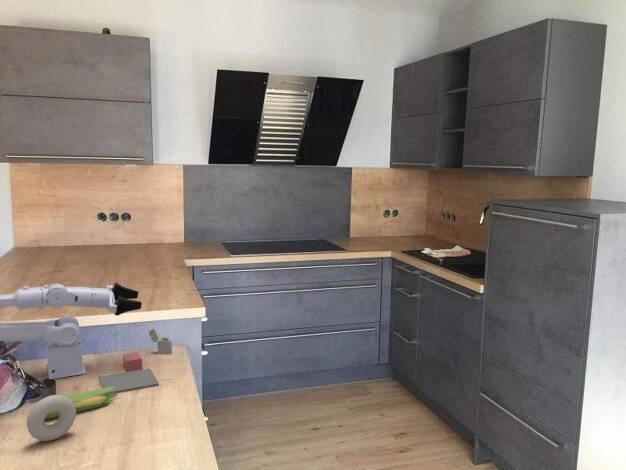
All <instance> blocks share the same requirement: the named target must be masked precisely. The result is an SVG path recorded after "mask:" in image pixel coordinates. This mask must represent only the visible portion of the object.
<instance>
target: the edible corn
mask: <svg viewBox="0 0 626 470" xmlns="http://www.w3.org/2000/svg"><path fill="white" fill-rule="evenodd" d="M113 388H115V387H108V388H102V387H101V388H97V389H93V390H87V391H81V392H74V393H66V394H61V395H62V396H66V397H67V398H69V399H71V401H72V402H73V404H74V405H75V409H76V414H77V413H81V412H85V411H89V410H94V409H97V408H102V407H106V406H108V403H111V402H114V400H113V399H114V398H116V397H117V396H118V395H119V393H115V392H108V391H110V390H112V389H113ZM42 399H43V398H41V399H40V400H42ZM40 400H39V401H40ZM39 401H37V402H36V403H38V402H39ZM59 415H60V414H59V412H58V411H51V412H49V413H48V414H47V415H46V416H45V419H44V421H46V420H53V419H58V418H59Z"/></svg>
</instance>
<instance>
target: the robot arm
mask: <svg viewBox="0 0 626 470" xmlns="http://www.w3.org/2000/svg"><path fill="white" fill-rule="evenodd" d="M138 297H139V291H138V290H135V289H131V288H129V287H125V286H123V285H121V284H119V283H118V282H114V285H113V284H109V285H105V288H104V287H103V288H101V287H89V286H88V287H86V286H65V285H63V284H62V283H61V284H60V283H56V282H55V283H51V284H44V285H43V286H36V287H30V286H28V285H24V286H23V287H22V288H19V289H17V290H16V291H15V292H14V293H9V294H0V308H7V307H15V308H17V309H19V310H21V311H22V310H29V309H39V308H45V307H48V306H49V307H53V308H55V309H61V308H64V306H65V307H75V308H96V309H97V308H98V309H99V308H100V309H106V310H107V311H108V313H113V314H114V316H120V315H123V314H125V313H127V312H132V311H133V312H134V311H138V310H141V308H142V304H143V302H142V301H138V300H136V299H138ZM0 341H3V342H2V343H5V342H7V343H9V342H28V341H29V342H30V341H31V342H32V341H45V342H47V343H50V344H47V345H46V355H47V356H46V359H47V360H46V361H47V363H46V371H47V374H48V379H49V378H50V379H49V380H56V379H60V378H66V377H74V376H79V375H84V374H85V375H86V369H85V365H84V362H83V359H84V358H83V339H82V337H81V329H80V324H79V320H78V319H77V318H75V316H70V315H65V316H62V317H61V318H57V319H55V318H54V319H50V320H46V321H24V322H23V321H22V322H0Z"/></svg>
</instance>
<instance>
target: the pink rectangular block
mask: <svg viewBox="0 0 626 470" xmlns="http://www.w3.org/2000/svg"><path fill="white" fill-rule="evenodd" d="M122 359H123V360H122V362H123V364H124V365H123V364H122V365H123V367H124V369H125V371H126V372H130V371H136V370H142V369H143V358H142V356H141V354H140V352H139V351H135V352H134V351H133V352H128V353H127V352H126V353H123V354H122Z"/></svg>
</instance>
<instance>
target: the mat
mask: <svg viewBox="0 0 626 470" xmlns="http://www.w3.org/2000/svg"><path fill="white" fill-rule="evenodd" d="M98 379H99V382H100V385H101V389H102V388H108V387H115V388H113V389H112V390H110V391H108V392H115V393H117V394H120V393H125V392H131V391H136V390H140V389H146V388H147V387H148V388H152V386H153V387H158V386H160V382H159V381H158V379H157V377H156V375H154V373H153V371H152V370H151V368H149V367H148V368H145V369H143V368H142V369H141V370H135V371H129V372H127V371H126V372H125V371H124V372H120V373H114V374H107V375H102V376H101V375H99V377H98Z"/></svg>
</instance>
